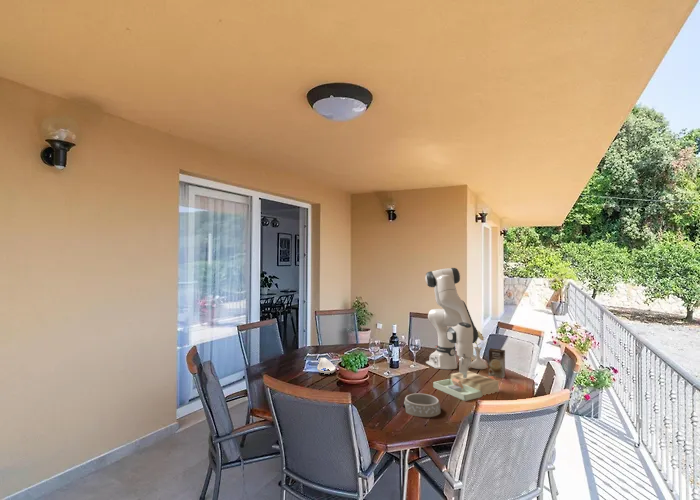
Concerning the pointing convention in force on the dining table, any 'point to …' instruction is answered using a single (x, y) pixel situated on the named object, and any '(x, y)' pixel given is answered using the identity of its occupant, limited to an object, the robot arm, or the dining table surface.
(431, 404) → the dog bowl
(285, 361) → the dining table surface
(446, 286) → the robot arm
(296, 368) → the dining table surface
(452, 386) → the slate tile
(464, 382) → the bench slab
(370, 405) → the dining table surface
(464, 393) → the tray
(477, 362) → the flower in vase
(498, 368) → the coffee box
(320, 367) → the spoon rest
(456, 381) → the terracotta tile
